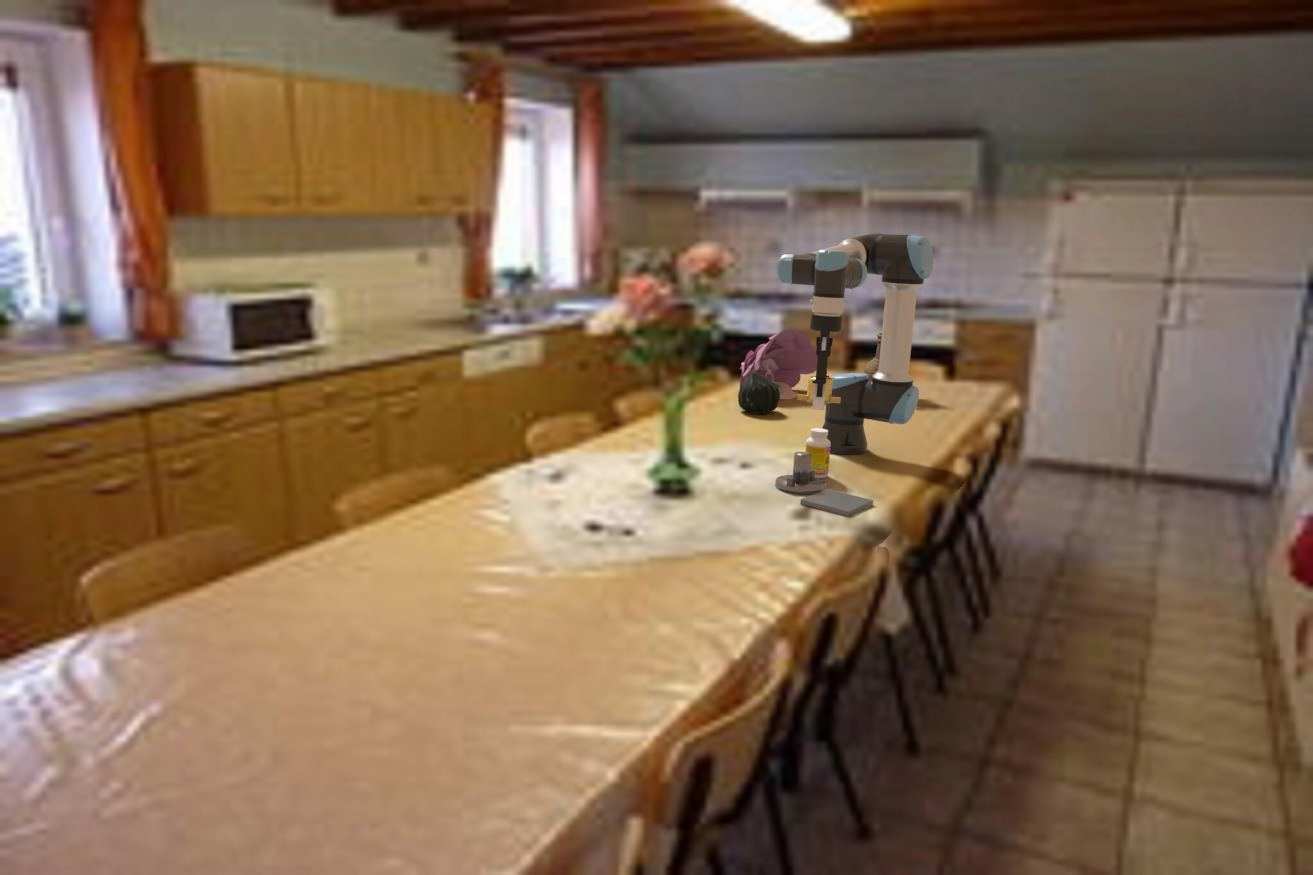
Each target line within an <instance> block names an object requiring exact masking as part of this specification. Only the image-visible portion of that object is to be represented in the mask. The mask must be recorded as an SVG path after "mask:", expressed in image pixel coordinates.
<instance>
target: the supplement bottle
mask: <svg viewBox="0 0 1313 875" xmlns="http://www.w3.org/2000/svg"><path fill="white" fill-rule="evenodd" d="M809 433H810V437H808V438H807V439H806V440H805V451H804V452H807V453H810V454H812V457H811V469H810V470H813V471H815V478H818V479H825V478H827V477H828V476H829V466H830V457H831V456H830V455H831V453H830V446H831V443H830V441H829V440H828V439H827V435H828V430H826V429H822V427H819V428H818V427H814V428H811V429H810V432H809Z"/></svg>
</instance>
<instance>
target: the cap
mask: <svg viewBox="0 0 1313 875" xmlns="http://www.w3.org/2000/svg"><path fill="white" fill-rule="evenodd" d="M830 377H831V376H829V377H826V383H825V384H826V389H825V400H824V405H826V404H830V403H840V401H841V397H831V396H832V385H833V378H830ZM821 378H823V377H821ZM815 379H816V375H812V376H811V375H810V376H808V380H807V391H806V392H807V394H804V393H803V394H802V393H798V396H797V397H796V399H797V400H796V401H806V402H807V403H810V404H813V398H814V387H815V383H812V381H815Z"/></svg>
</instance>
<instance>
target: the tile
mask: <svg viewBox="0 0 1313 875" xmlns="http://www.w3.org/2000/svg"><path fill="white" fill-rule="evenodd" d="M800 505H803V506H807V507H811V508H814V509H818V510H823V511H826V512H830V513H833V514H836V515H841V516H846V517H849V516H851V515H854V514H856V513H858V512H860V511H862V509H863V510H865V509H867V508H869V507H871V506H873V505H874V499H869V498H866V497H862V496H858V495H853V494H850V493H845V492H842V491H838V490H832V489H829V488H826V489H825V490H823V491H820V492H818V493H815V494H813V495H807V496H805V497H803V498H800ZM868 506H869V507H868ZM866 507H867V508H866ZM864 508H865V509H864Z"/></svg>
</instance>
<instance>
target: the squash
mask: <svg viewBox="0 0 1313 875" xmlns="http://www.w3.org/2000/svg"><path fill="white" fill-rule="evenodd" d="M780 400H781V399H780V392H779V389H778V387H777V385H776V384H775V383H774V382H772V381H771V380H770V379H768V378H766V377H764V376H763V375H761V374H758V373H754V372H753V373H752V374H751V375H750V376H749V377H748V379H747V380H746V381H745V382H744V383H743V384H742V386H741V388H740V387H739V390H738V395H737V401H738V402H737V403H738V405H739V407H740V408H741V409H742V410H744V412H746V413H750V414H752V413H753V414H755V415H758V414H762V415H767V414H768V413H769V412H772V411H773V412H774V411H775V410H776V408H777V406H778V405H779V403H780Z"/></svg>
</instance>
